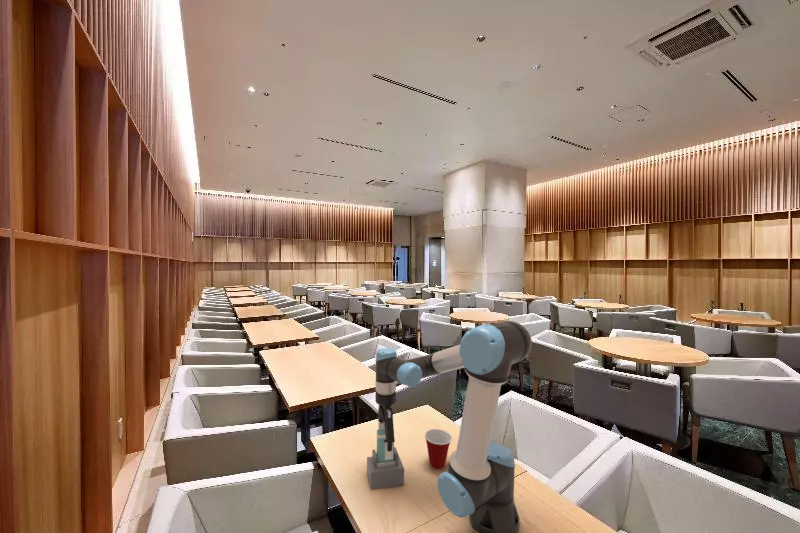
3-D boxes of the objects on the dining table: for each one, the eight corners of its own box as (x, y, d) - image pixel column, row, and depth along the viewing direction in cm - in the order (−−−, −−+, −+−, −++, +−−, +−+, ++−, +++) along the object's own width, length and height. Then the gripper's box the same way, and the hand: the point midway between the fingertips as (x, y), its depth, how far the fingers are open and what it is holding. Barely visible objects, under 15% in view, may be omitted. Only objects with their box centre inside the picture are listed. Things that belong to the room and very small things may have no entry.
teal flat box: (393, 463, 130) (394, 431, 130) (377, 465, 129) (377, 432, 128) (392, 459, 132) (392, 428, 132) (376, 461, 131) (376, 429, 131)
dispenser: (403, 485, 127) (404, 457, 127) (370, 489, 124) (371, 461, 124) (397, 468, 137) (398, 443, 137) (366, 472, 134) (367, 446, 134)
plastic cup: (441, 477, 132) (441, 445, 132) (418, 465, 139) (418, 435, 139) (457, 464, 140) (457, 434, 140) (434, 454, 147) (435, 425, 147)
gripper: (403, 404, 119) (403, 466, 119) (389, 379, 143) (388, 431, 143) (381, 406, 117) (381, 469, 117) (370, 380, 141) (370, 433, 142)
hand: (385, 448), depth 130 cm, fingers open, 13 cm apart
